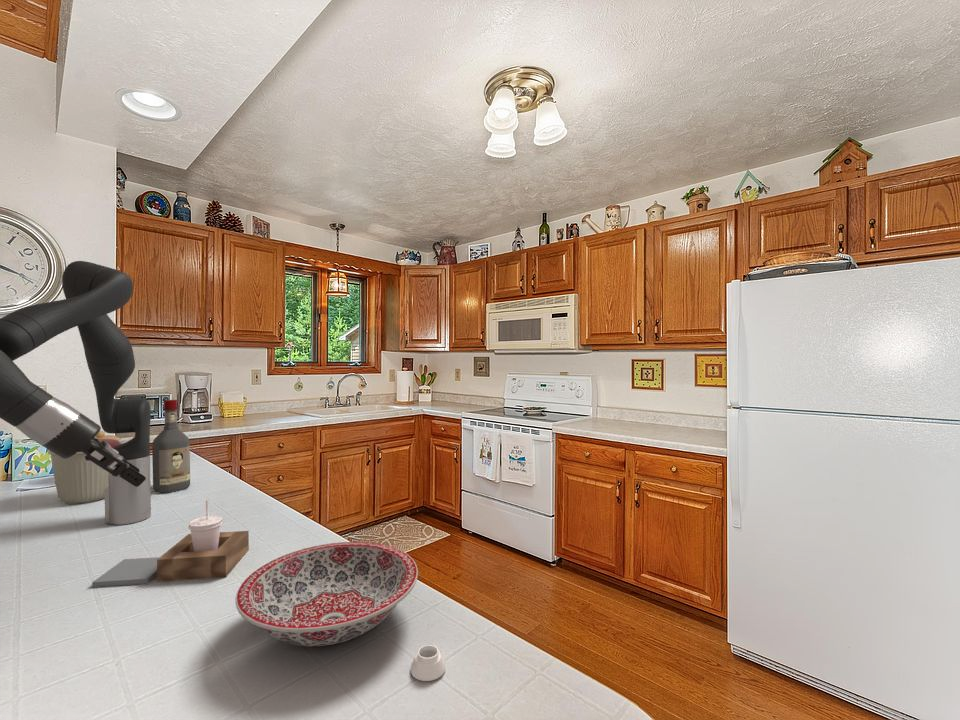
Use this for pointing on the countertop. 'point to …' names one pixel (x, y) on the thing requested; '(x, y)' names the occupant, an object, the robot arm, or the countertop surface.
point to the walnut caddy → (202, 558)
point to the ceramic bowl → (326, 592)
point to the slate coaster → (129, 573)
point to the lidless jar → (428, 664)
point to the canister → (79, 477)
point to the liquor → (171, 454)
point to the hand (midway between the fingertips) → (138, 478)
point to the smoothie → (205, 531)
